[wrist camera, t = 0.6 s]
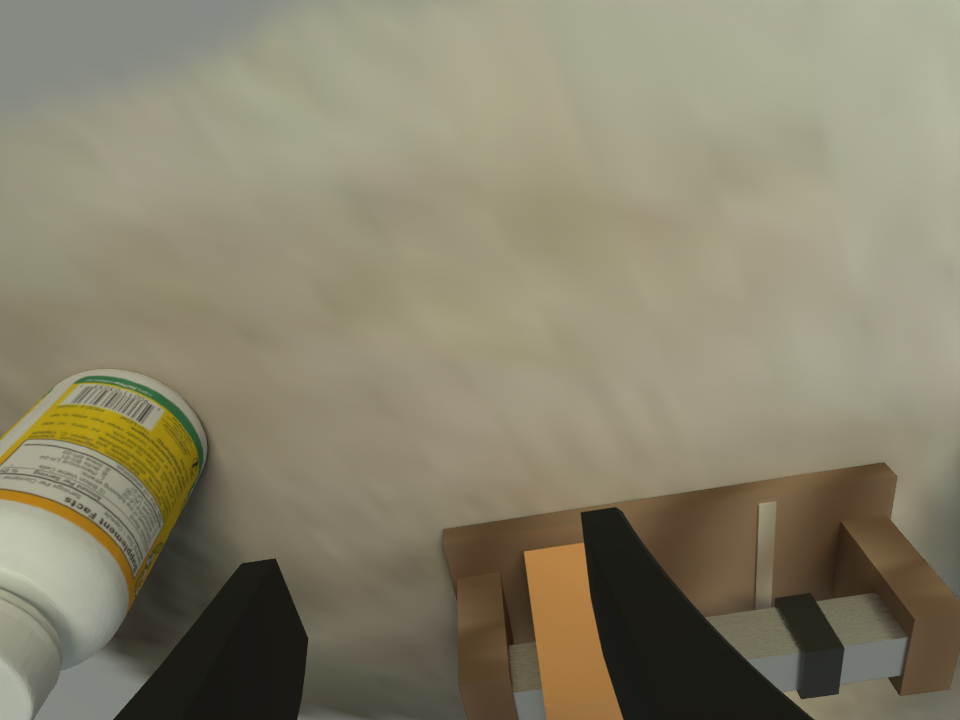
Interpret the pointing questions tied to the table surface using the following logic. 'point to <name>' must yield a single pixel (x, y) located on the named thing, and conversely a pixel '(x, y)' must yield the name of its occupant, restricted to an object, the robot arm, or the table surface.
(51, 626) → the supplement bottle
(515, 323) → the table surface
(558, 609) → the collar
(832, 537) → the stand
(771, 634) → the rod
